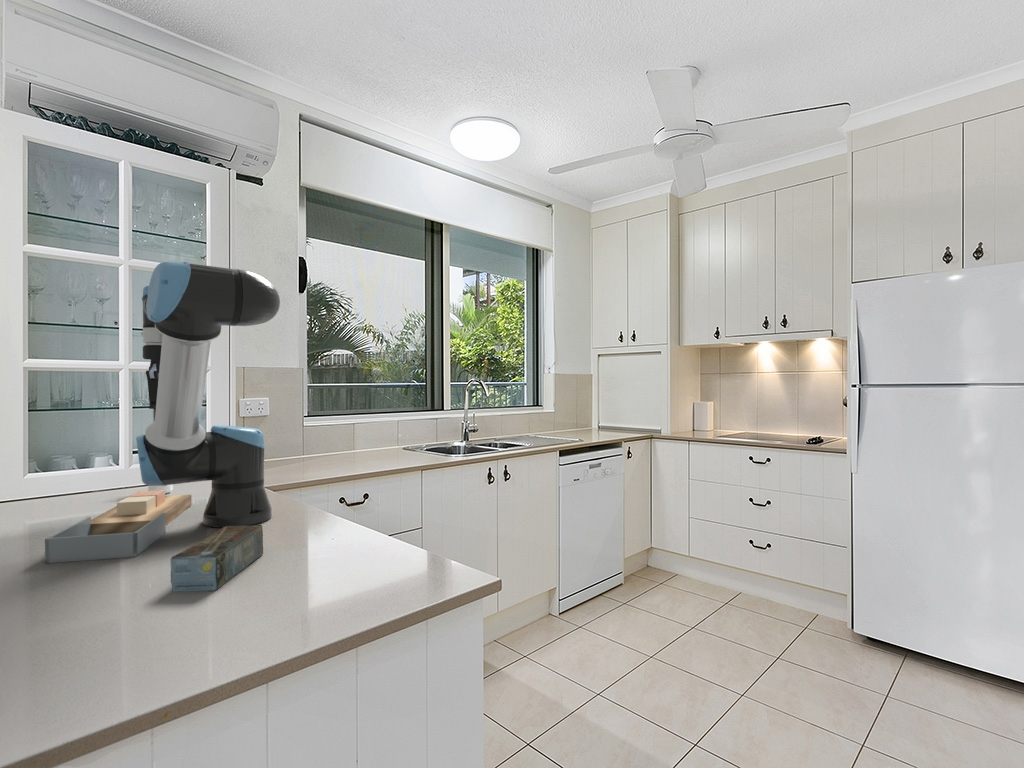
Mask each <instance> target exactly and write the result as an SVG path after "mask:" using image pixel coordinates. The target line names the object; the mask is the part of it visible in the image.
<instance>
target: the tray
mask: <svg viewBox="0 0 1024 768" xmlns="http://www.w3.org/2000/svg"><path fill="white" fill-rule="evenodd" d="M91 520H92V516H87V517H85V518H83V519H81V520H79V521H77V522H75V523H73V524H71V525H69V526H67V527H66V528H64V529H62V530H60V531H57V532H55V533H54V534H52V535H50V536H48V537H46V538H45V539H44V564H53V563H55V564H57V563H68V562H81V561H82V562H83V561H94V560H95V561H96V560H107V559H121V558H122V559H123V558H135V557H138V556H139V555H141V554H142V553H143V552H144V551H145V550H147V548H149V547H150V546H152V545H153V544H154V543H155V542H156V541H158V540H159V539H160V538H161V537H162V536H164V534H166V526H165V513H161V514H160V515H159V516H157V517H156V518H154V519H153V520H151V521H150V522H149V523H147V524H146V525H144V526H143V527H141V528H140V529H139V530H137V531H136V532H129V533H113V534H98V535H91Z"/></svg>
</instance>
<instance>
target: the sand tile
mask: <svg viewBox="0 0 1024 768" xmlns="http://www.w3.org/2000/svg"><path fill="white" fill-rule="evenodd" d="M116 506H117V516H118V515H135V514H147V513H149V512H150V511H152V510H153V509H155V508H156V496H143V497H129V496H127V497H126V498H123V499H121V500H119V501H117V502H116Z"/></svg>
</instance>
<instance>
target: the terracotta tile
mask: <svg viewBox="0 0 1024 768" xmlns="http://www.w3.org/2000/svg"><path fill="white" fill-rule="evenodd" d="M143 496H156V507H158V506H159V505H161V504H162V503H164V502H165V496H166V494H165V490H159V491H148V490H145V491H144V490H141V491H137V492H135V493H133V494H131V495H129V496H128V497H143Z"/></svg>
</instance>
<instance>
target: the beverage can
mask: <svg viewBox="0 0 1024 768" xmlns="http://www.w3.org/2000/svg"><path fill="white" fill-rule="evenodd" d="M173 486H174V484H172V485H166V486H148V488H147V491H159V490H165V495H167V494H169V493H170V492H172V491H173Z"/></svg>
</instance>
